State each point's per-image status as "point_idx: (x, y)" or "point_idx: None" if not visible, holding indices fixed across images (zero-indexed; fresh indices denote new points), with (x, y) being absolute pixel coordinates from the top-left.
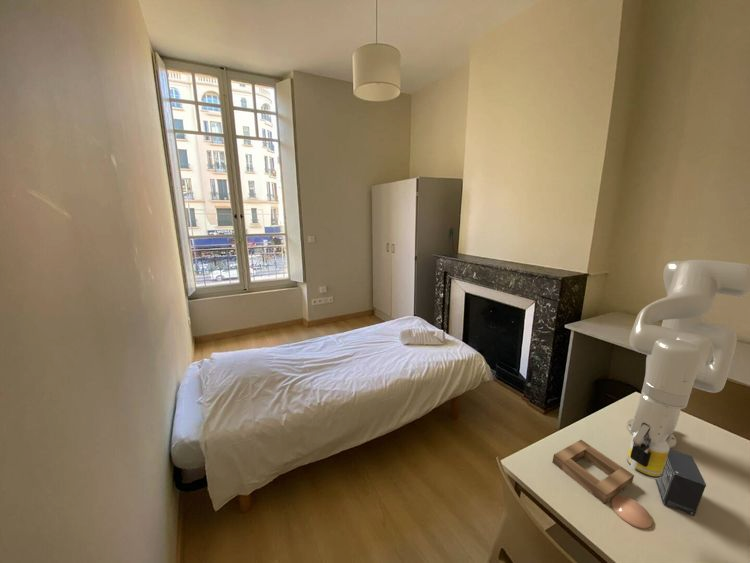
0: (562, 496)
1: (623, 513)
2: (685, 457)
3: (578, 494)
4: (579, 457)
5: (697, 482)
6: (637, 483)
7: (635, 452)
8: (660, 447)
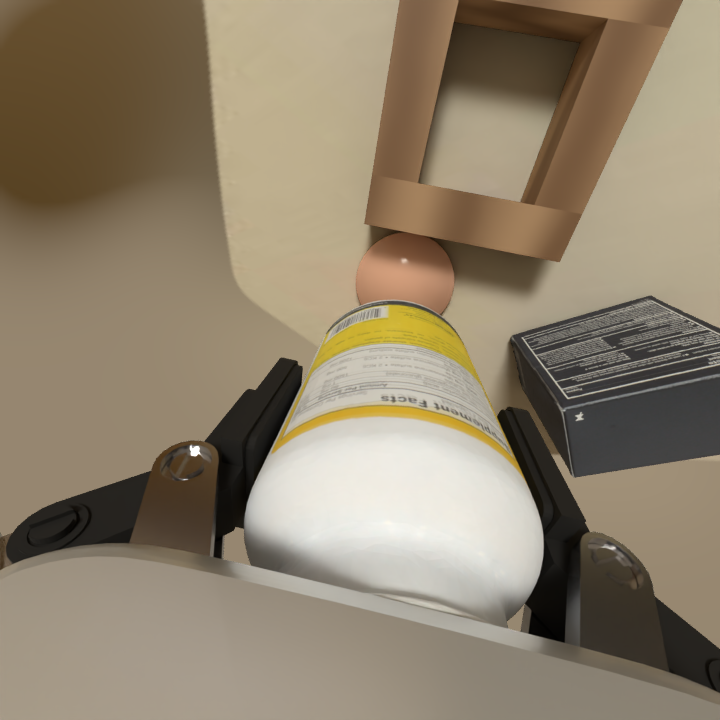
0: (274, 103)
1: (373, 272)
2: None
3: (334, 141)
4: (548, 29)
5: (569, 460)
6: (559, 266)
7: (223, 422)
8: None
